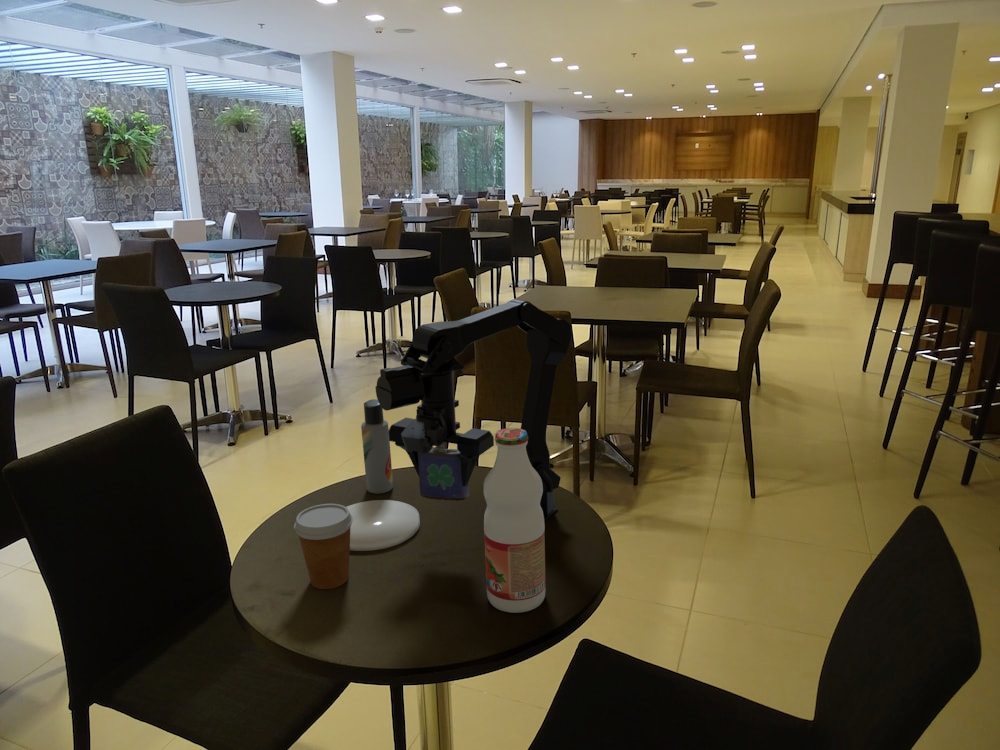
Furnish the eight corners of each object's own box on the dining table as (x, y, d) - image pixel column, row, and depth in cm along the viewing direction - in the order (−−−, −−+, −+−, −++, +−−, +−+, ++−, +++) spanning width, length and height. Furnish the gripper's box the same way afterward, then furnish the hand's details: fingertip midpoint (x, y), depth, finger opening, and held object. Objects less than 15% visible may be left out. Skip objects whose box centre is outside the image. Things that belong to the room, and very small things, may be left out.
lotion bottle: (395, 483, 159) (389, 397, 153) (389, 494, 153) (382, 405, 148) (370, 483, 159) (363, 397, 154) (363, 494, 154) (355, 405, 148)
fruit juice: (540, 617, 109) (537, 445, 101) (480, 611, 111) (472, 442, 103) (549, 583, 118) (547, 423, 110) (494, 578, 120) (488, 421, 112)
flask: (471, 495, 128) (468, 439, 125) (466, 502, 126) (463, 445, 123) (423, 491, 131) (418, 436, 128) (417, 498, 128) (412, 442, 125)
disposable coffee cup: (308, 601, 115) (300, 534, 112) (295, 573, 123) (287, 510, 120) (365, 584, 119) (359, 519, 116) (349, 559, 128) (343, 497, 124)
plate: (437, 517, 142) (437, 510, 142) (381, 559, 127) (380, 551, 127) (366, 500, 151) (365, 493, 150) (305, 538, 136) (304, 531, 135)
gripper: (365, 404, 121) (372, 489, 125) (459, 419, 112) (463, 509, 116) (404, 387, 130) (410, 466, 134) (493, 399, 121) (496, 483, 126)
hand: (442, 481), depth 127 cm, fingers closed on flask, 9 cm apart
